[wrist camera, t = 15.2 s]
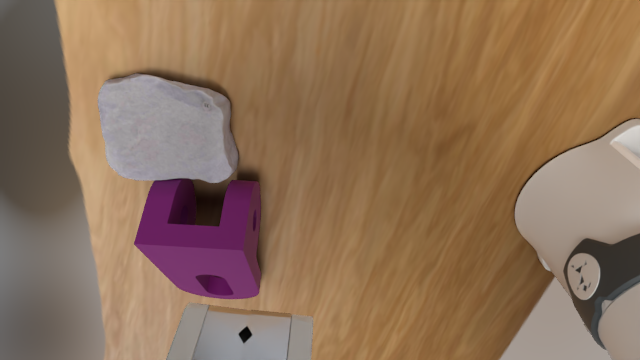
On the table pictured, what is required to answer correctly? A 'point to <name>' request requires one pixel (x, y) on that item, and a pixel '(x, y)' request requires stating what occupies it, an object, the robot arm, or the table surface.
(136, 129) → the stone block
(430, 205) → the table surface
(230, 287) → the mounting bracket
